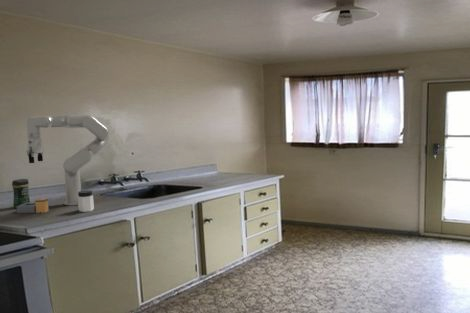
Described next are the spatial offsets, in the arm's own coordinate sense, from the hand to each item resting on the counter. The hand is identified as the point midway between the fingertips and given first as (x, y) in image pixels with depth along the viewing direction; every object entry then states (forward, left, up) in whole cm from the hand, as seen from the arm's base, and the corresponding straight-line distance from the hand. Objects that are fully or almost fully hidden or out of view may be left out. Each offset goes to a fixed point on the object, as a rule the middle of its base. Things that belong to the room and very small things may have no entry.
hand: (36, 162), depth 255 cm
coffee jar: (+12, -1, -30) cm, 33 cm away
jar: (-36, +12, -30) cm, 48 cm away
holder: (+1, +9, -30) cm, 31 cm away
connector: (-8, +13, -30) cm, 34 cm away
